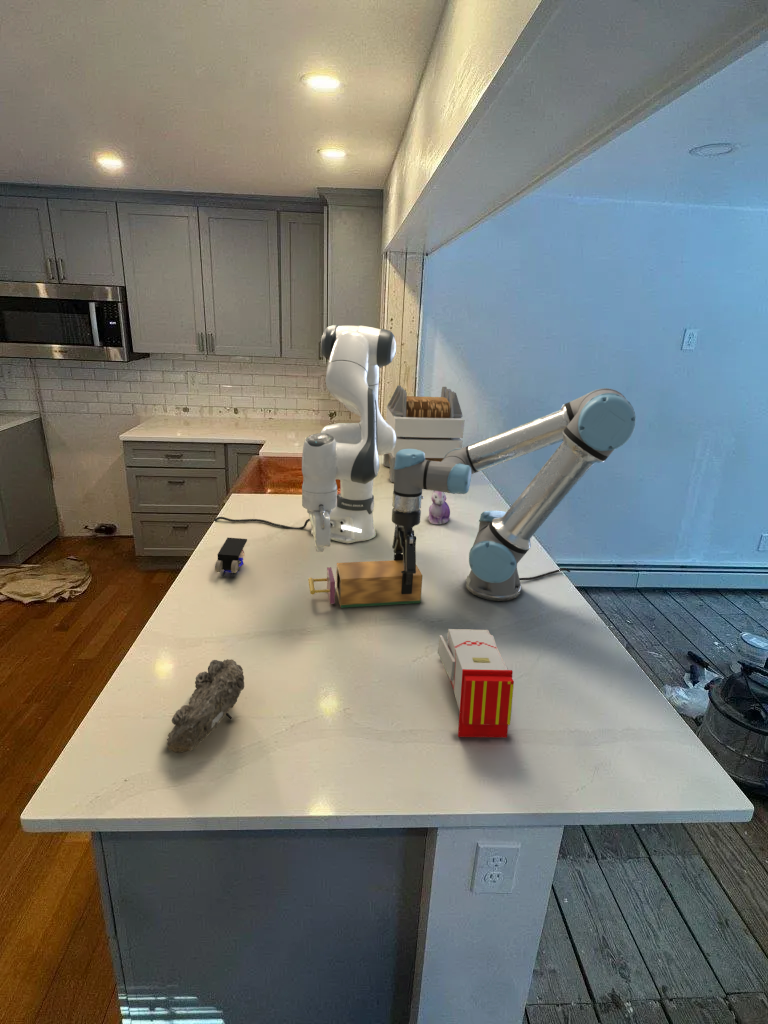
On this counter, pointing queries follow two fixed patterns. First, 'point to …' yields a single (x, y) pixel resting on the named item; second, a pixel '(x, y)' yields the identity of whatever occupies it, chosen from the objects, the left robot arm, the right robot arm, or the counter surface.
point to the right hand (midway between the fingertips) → (402, 584)
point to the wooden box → (375, 584)
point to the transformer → (424, 425)
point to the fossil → (206, 705)
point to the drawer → (330, 585)
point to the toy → (478, 682)
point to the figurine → (439, 508)
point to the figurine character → (230, 556)
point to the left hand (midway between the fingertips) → (319, 549)
